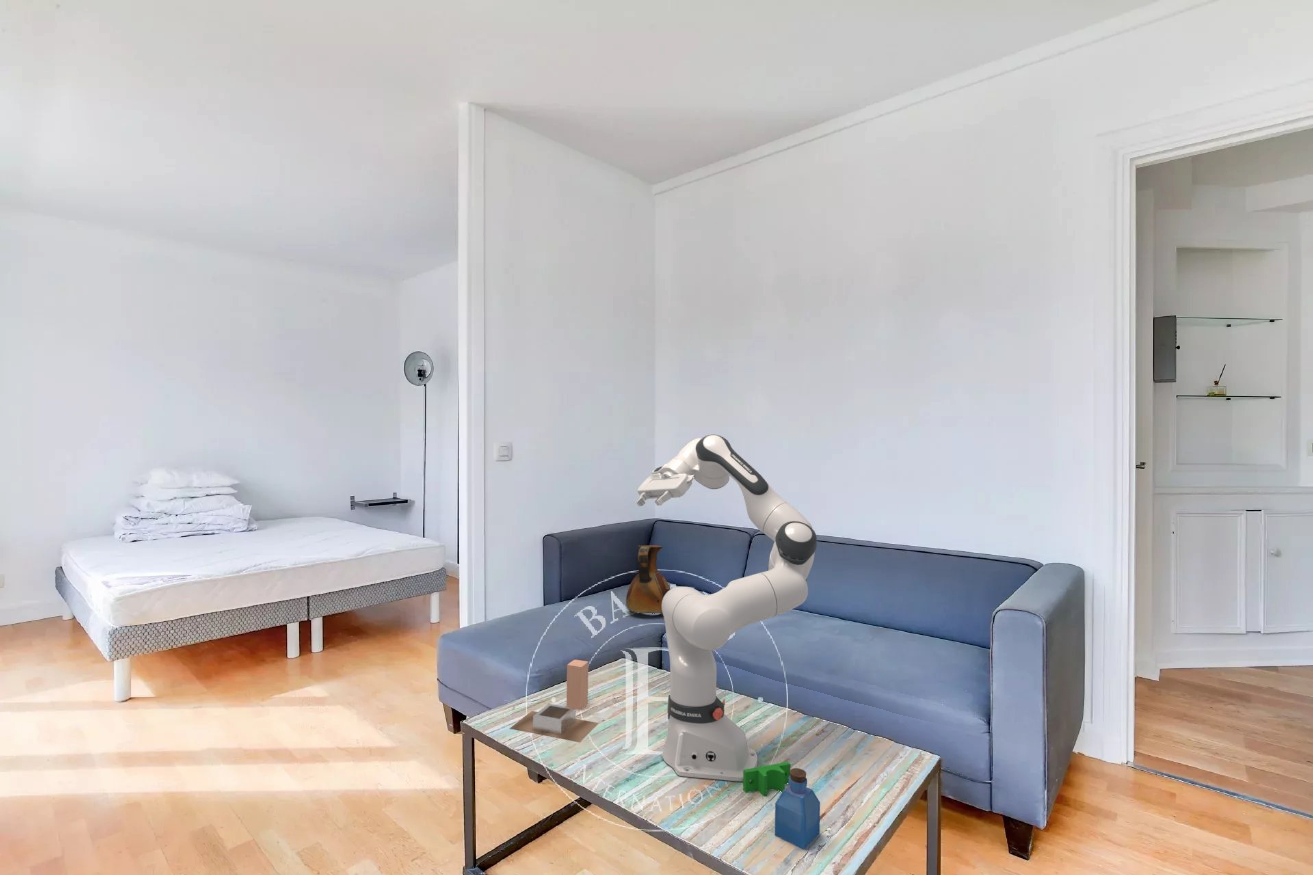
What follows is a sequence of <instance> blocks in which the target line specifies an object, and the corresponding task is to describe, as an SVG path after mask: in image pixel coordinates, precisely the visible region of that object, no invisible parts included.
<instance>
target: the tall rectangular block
mask: <svg viewBox="0 0 1313 875" xmlns="http://www.w3.org/2000/svg"><path fill="white" fill-rule="evenodd" d="M587 705H589V661H586V660H579V659H573V660H572V661H570V662H569V663H568V664H567V665H566V706H565V707H571V708H576V711H582V710H583V709H584V708H585V707H586V706H587Z"/></svg>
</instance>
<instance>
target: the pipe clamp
mask: <svg viewBox="0 0 1313 875" xmlns="http://www.w3.org/2000/svg"><path fill="white" fill-rule="evenodd" d="M791 766H792V765H791V762H790V761H784V762H779V763H777V762H776V763H773V764H767V765H763V766H757V767H756V768H751V769H746V770H743V781H742V791H744V793H751V792H755V791H757V792H759V793H760V794H761V795H762V797H764V798H765V797H767V795H768V792H769V791H771V790H772V789H774V790H775V791H778V790H779V791H778V792H780V791H781V792H783V790H784V789H785V788H786V785H788V784H787V783H789V776H790V770H791V769H792V767H791ZM785 784H786V785H785ZM774 790H773V791H774ZM781 792H780V793H781Z"/></svg>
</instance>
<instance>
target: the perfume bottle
mask: <svg viewBox="0 0 1313 875" xmlns="http://www.w3.org/2000/svg"><path fill="white" fill-rule="evenodd" d="M774 805H775V806H774V836H775V837H777V838H779V839H781V840H783V841H785V842H787V843H789V844H791V845H793V846H795V847H797V848H799V849H801V850H803V851H804V850H806V848H808V847H809V845H811V844H812V843H813V842H814V840H816V839H817V838H818V837H819V836H820V832H821V830H820V829H821V828H820V825H821V824H820V823H821V801H820V800H819V798H818V797H817V795H816V793H815V791H814V790H813V789H812V788H810V787H808V778H807V772H806V770H804V769H802V768H799V767H795V768H790V776H789V784H788V785H787V787H785V789H784V790H783V792H782V793H781V792H780V794H779V797H778V798H777V799H776V801H775V803H774Z"/></svg>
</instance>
